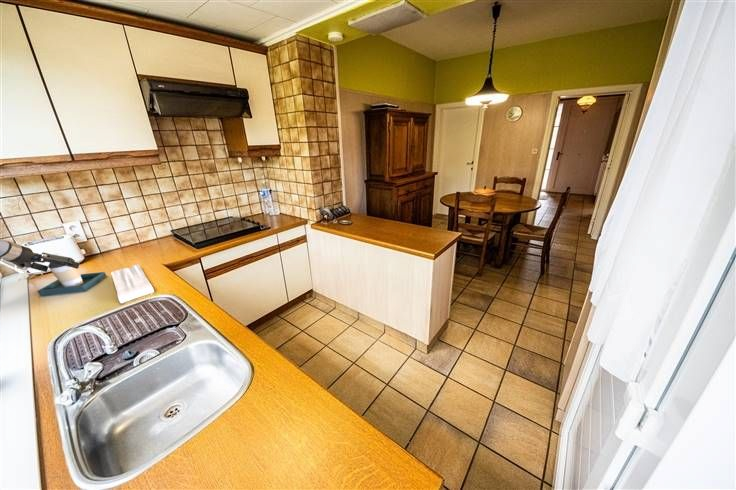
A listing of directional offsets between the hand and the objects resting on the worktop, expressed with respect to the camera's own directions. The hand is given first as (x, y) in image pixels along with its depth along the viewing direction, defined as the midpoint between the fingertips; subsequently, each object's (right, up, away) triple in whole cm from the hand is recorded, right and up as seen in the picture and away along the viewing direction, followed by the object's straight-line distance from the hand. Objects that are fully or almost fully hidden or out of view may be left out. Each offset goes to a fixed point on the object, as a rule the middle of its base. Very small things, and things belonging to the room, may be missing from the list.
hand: (62, 267), depth 131 cm
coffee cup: (+1, -10, +5) cm, 11 cm away
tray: (+1, -10, +5) cm, 11 cm away
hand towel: (+31, -9, +4) cm, 33 cm away
